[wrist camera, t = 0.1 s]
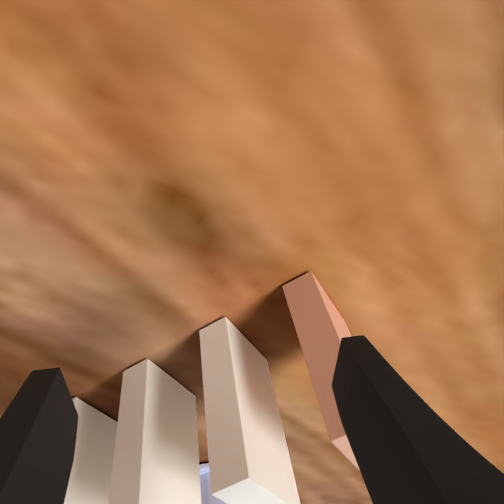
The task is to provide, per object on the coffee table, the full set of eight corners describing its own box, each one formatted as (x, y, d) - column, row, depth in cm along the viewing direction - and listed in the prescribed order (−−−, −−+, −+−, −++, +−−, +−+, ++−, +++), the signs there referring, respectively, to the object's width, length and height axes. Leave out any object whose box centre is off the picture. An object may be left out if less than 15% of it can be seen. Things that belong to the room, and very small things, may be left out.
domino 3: (243, 372, 27) (269, 527, 20) (199, 330, 24) (211, 494, 17) (267, 360, 27) (302, 513, 20) (225, 316, 24) (248, 477, 17)
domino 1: (108, 439, 29) (88, 601, 22) (53, 408, 26) (9, 583, 19) (129, 429, 29) (115, 590, 22) (75, 396, 26) (39, 570, 19)
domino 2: (173, 407, 28) (174, 566, 21) (123, 371, 25) (104, 541, 18) (195, 396, 28) (204, 554, 21) (147, 358, 25) (137, 527, 18)
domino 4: (318, 334, 26) (374, 484, 19) (281, 286, 23) (330, 441, 16) (344, 321, 26) (411, 469, 18) (310, 270, 23) (374, 422, 16)
